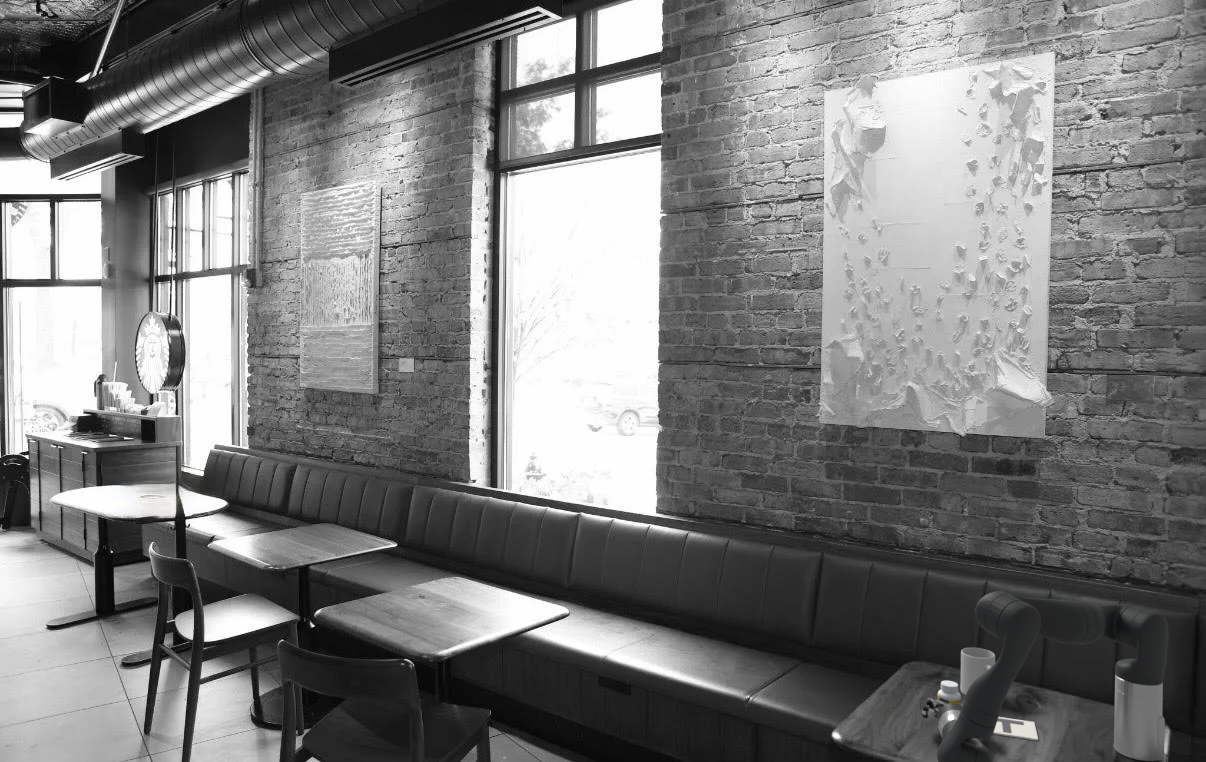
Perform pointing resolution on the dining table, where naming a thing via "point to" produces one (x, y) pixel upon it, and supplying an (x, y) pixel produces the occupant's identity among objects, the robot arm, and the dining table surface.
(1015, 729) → the letter card
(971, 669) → the mug
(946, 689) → the supplement bottle
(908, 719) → the dining table surface
